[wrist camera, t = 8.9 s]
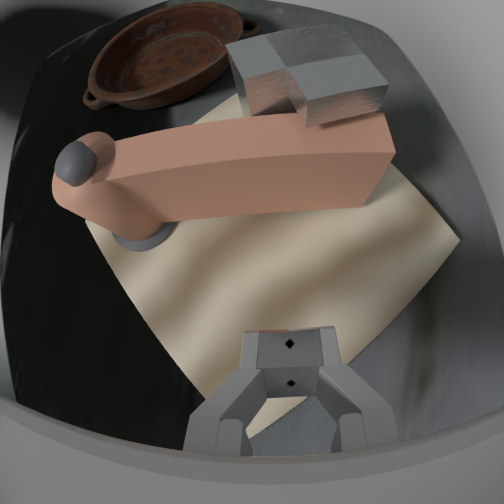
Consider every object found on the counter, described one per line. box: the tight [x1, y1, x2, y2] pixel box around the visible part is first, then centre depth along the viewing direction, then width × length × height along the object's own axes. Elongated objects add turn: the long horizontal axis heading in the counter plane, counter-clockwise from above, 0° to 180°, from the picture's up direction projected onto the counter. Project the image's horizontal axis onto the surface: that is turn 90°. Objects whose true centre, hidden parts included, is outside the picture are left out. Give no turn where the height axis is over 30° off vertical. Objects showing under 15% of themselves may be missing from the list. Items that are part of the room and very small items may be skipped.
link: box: [52, 112, 396, 241], centre depth 17 cm, size 20×5×9 cm, turn 93°
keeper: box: [225, 23, 389, 128], centre depth 16 cm, size 6×5×12 cm
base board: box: [85, 93, 460, 438], centre depth 22 cm, size 23×23×2 cm
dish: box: [83, 2, 262, 110], centre depth 26 cm, size 17×22×5 cm
